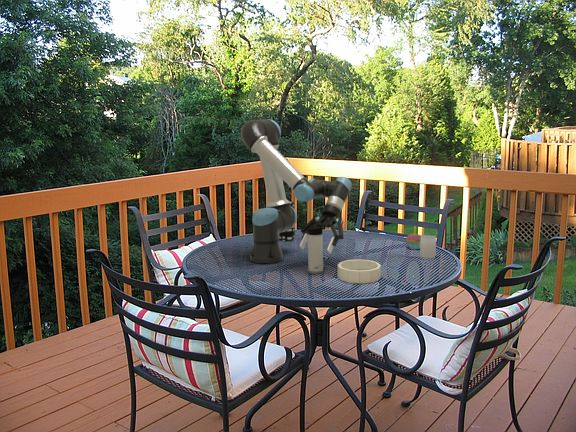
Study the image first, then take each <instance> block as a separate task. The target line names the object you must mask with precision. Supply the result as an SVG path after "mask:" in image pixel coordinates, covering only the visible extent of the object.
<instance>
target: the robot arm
mask: <svg viewBox="0 0 576 432" xmlns="http://www.w3.org/2000/svg"><path fill="white" fill-rule="evenodd" d="M281 135H282V131H281V127H280V125H279V124H278V123H277V122H276V121H274V120H273V119H267V118H263V119H261V118H260V119H250V120H248V121H246V122H244V124H243V125H242V126H241V129H240V137H241V141H242V142H243V143H244V145H245V146H246V148H247V149H248V150H249V151H251V153H254V154H255V153H256V155H258V156H259V159H260V164H261V171H262V175H263V179H264V180H263V181H264V185H265V191H266V195H267V200H268V203H267V204H266V205H265V206H266V207H263V208H259V209H257V210H255V211H253V213H252V219H251V221H252V238H253V239H252V240H253V242H252V243H253V244H252V248H251V251H250V254H249V255H250V256H249V260H251V261H252V262H251V261H250V262H251V263H254V262H255V263H254V264H258V263H271V264H276V263H275V262H277V263H279V261H280V262H282V261H283V260H284V256H283V251H282V249H281V247H280V243H279V241H280V240H279V233H281V232H284V231H288V230H290V229H291V228H293V227H294V225H296V223H297V220H298V213H297V211H296V210H295V208H294V209H293V207H291V204H290V202H291V201H290V200H288V199H287V195H286V190H285V185H284V182H285V183H286V185H288V186H289V188H290V189H292V191H293V195H294V198H295V199H296V200H297V201H298V202H299V203H300V202H301V203H305V202H310V201H311V200H315V199H318V198H327V199H326V203H325V205H324V207H323V209H322V211H321V215H320V216H317V214H314V215H313V217H312V218H311V220H310V221H308V222H307V223H306V224H305V225H304V226H303V227H302V228H301V230H300V232H301V233H302V236H301V239H300V240H301V241H300V244H299V247H300V248H301V250H304V249H305V248H306V245H307V244H308V228H310V227H314V226H323V228H328V229H331V231H332V234H333V236H332V237H331V240H330V241H329V244H328V246H327V249H326V251H327V252H328V254H329V255H330V254H331V255H332V252H333V250H334V247H336V246H337V245H338V242H339V240H344V238H345V237H344V229H343V228H344V227H343V226H344V225H343V224H344V220H343V219H342V217H340V215H341V212H342V210H343V208H344V206H345V202H346V200H347V199H348V197H349V194H350V193H351V188H352V186H353V184H352V181H350V179H349V178H347V177H344V176H340V177H337V178H336V179H335V181H330V180H324V179H318V178H311V179H309V180H308V179H307V178H306V177H305V176H304V175H303V174H302V173H301V172H300V171H299V170H298V169H297V168H296V166H294V165H293V164H292V163H291V162H290V161H289V160H288V159H287V158H286V157H285V155H283V154H282V153H281V152H279V150H278V149H279V146H280V143H279V141H280V140H281V139H280V138H281ZM336 224H337V229H338V231H337V229H336V227H335V225H336Z"/></svg>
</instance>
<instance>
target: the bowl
mask: <svg viewBox="0 0 576 432" xmlns="http://www.w3.org/2000/svg"><path fill="white" fill-rule="evenodd" d="M381 270H382V265H381V264H380V263H379V262H377V261H375V260H374V261H373V260H371V259H370V260H369V259H361V258H360V259H347V260H343V261H340V262H339V263H338V264H337V278H338V279H339V280H340V281H342V282H346V283H349V284H350V283H351V284H358V285H359V284H360V285H361V284H372V283H375V282H378V281H379V280H380V279H381V278H382V275H381V274H382V271H381Z"/></svg>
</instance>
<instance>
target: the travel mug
mask: <svg viewBox="0 0 576 432" xmlns="http://www.w3.org/2000/svg"><path fill="white" fill-rule="evenodd" d="M323 229H324V227H323V226H314V227H310V228H308V232H307V233H308V241H307V260H308V261H307V262H308V263H307V265H308V266H307V268H308V274H312V275H320V274H323V272H324V239H323V238H324V236H323V235H324V234H323Z"/></svg>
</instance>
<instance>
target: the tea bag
mask: <svg viewBox="0 0 576 432" xmlns="http://www.w3.org/2000/svg"><path fill="white" fill-rule="evenodd" d="M420 235H421V240H420V248H419V258H426V259H427V258H428V259H435V258H436V257H435V256H436V255H437V236H436V235H426V234H420Z"/></svg>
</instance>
